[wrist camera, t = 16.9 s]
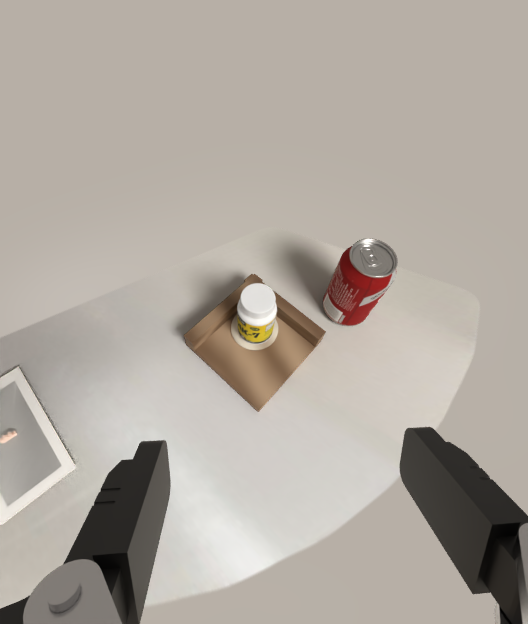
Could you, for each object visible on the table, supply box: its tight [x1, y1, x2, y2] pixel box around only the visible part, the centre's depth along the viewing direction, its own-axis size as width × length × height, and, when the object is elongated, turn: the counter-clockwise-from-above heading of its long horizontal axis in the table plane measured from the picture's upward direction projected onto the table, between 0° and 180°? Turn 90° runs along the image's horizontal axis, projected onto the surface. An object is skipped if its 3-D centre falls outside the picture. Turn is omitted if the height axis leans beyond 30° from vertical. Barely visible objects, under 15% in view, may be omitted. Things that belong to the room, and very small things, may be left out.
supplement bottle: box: [237, 283, 277, 344], centre depth 39 cm, size 5×5×8 cm
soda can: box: [323, 239, 397, 326], centre depth 42 cm, size 7×7×12 cm
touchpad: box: [0, 366, 76, 525], centre depth 35 cm, size 8×15×2 cm, turn 42°
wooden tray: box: [184, 274, 326, 412], centre depth 42 cm, size 13×13×4 cm
